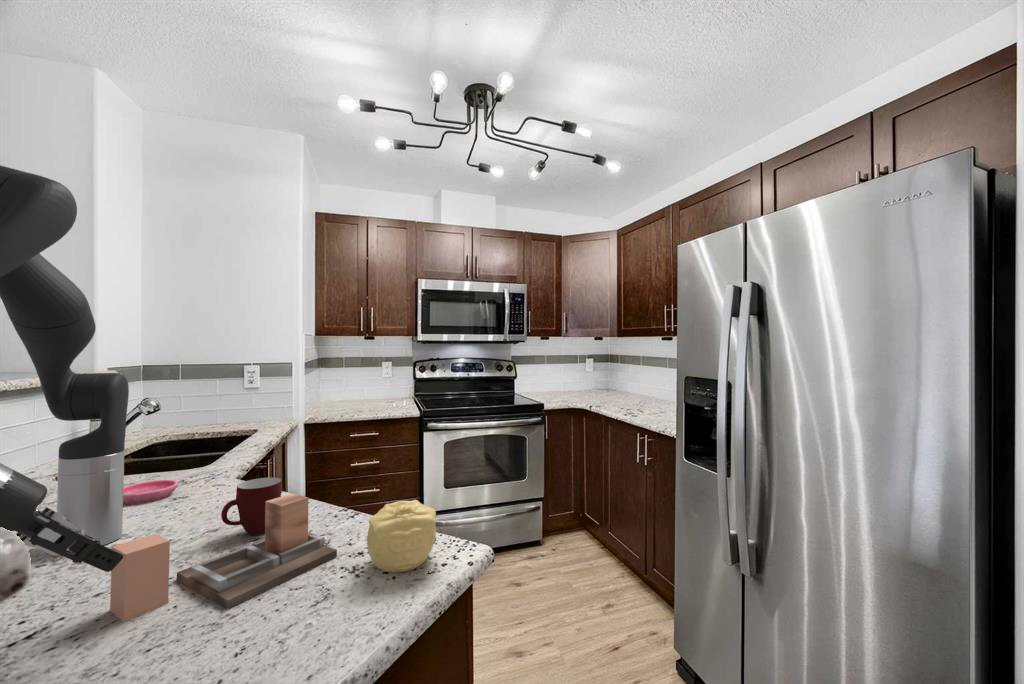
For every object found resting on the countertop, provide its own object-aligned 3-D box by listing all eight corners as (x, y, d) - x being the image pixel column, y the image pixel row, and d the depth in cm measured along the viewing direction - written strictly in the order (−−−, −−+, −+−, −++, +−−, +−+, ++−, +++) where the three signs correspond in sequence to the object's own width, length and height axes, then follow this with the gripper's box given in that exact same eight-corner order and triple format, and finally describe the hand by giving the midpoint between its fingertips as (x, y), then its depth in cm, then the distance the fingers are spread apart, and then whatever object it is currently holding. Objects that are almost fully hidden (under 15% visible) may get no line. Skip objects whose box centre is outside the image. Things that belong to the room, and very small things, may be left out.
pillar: (110, 610, 59) (111, 546, 60) (153, 593, 64) (155, 533, 64) (123, 621, 57) (125, 554, 57) (168, 602, 61) (169, 540, 61)
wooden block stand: (176, 579, 67) (178, 516, 68) (284, 538, 83) (285, 486, 83) (227, 609, 59) (229, 536, 60) (336, 556, 75) (337, 499, 75)
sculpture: (370, 588, 65) (370, 517, 65) (364, 555, 76) (364, 495, 76) (442, 572, 69) (442, 506, 70) (427, 543, 80) (427, 486, 81)
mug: (229, 548, 79) (230, 494, 79) (215, 537, 84) (216, 487, 84) (287, 530, 87) (288, 481, 87) (271, 520, 92) (272, 475, 92)
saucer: (189, 492, 113) (189, 480, 113) (139, 508, 101) (139, 495, 101) (154, 489, 116) (154, 478, 116) (101, 505, 104) (101, 492, 104)
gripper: (25, 475, 47) (151, 540, 56) (-5, 461, 54) (111, 520, 63) (-57, 542, 42) (96, 600, 51) (-77, 516, 49) (60, 571, 58)
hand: (104, 556), depth 57 cm, fingers open, 8 cm apart
